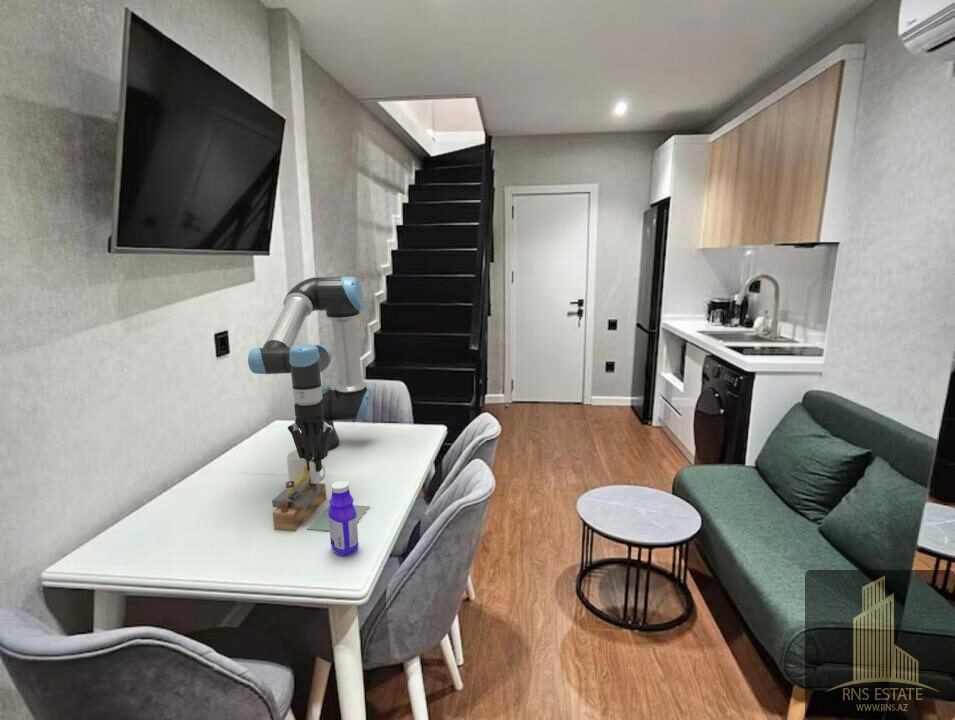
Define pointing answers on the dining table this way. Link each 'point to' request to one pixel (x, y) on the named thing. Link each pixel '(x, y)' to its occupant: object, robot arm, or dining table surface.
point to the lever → (298, 481)
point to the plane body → (296, 511)
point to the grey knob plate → (298, 497)
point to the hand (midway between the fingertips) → (315, 481)
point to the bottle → (342, 520)
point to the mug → (297, 466)
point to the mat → (323, 519)
